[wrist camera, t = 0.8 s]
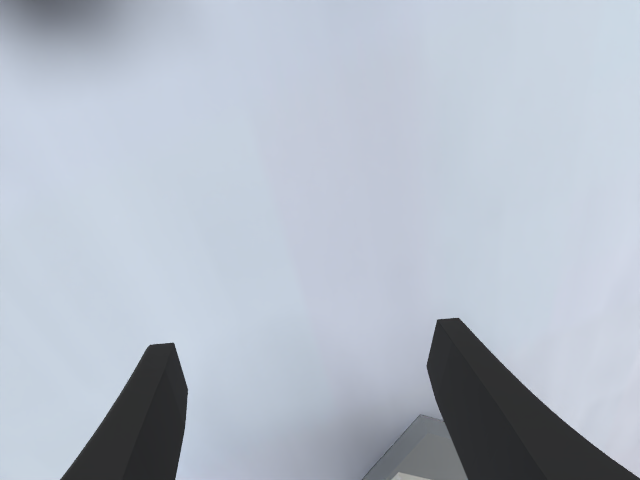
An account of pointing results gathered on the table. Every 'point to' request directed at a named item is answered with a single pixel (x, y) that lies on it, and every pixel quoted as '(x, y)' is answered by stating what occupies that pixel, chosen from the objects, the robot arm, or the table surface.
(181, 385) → the robot arm
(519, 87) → the table surface
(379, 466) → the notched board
